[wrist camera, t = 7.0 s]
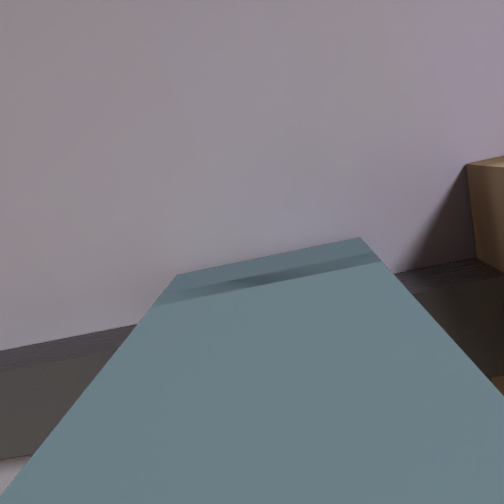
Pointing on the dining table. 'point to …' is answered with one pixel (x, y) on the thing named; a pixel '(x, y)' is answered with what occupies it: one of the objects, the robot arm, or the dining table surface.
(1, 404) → the rail
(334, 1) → the dining table surface
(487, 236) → the housing
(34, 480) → the block
